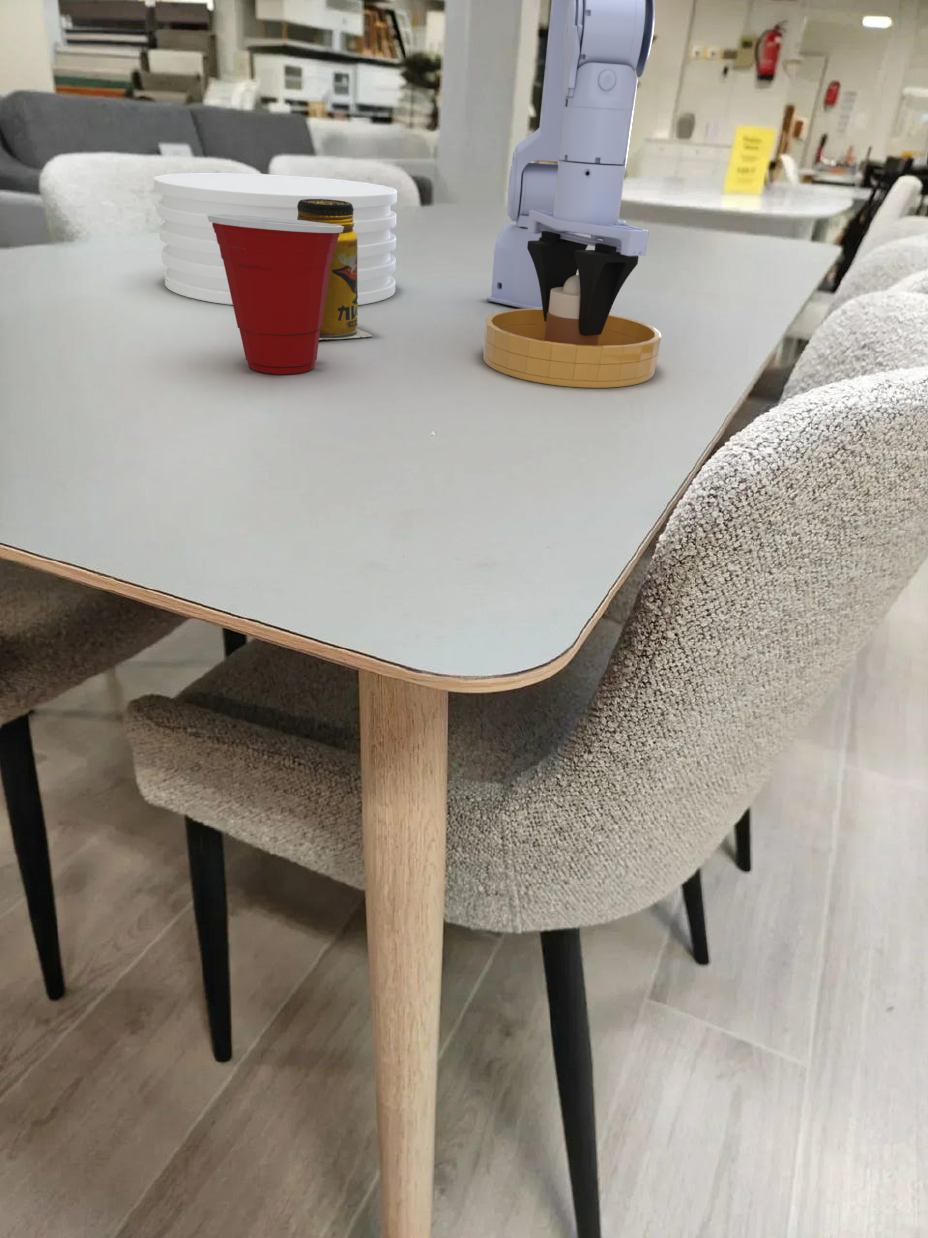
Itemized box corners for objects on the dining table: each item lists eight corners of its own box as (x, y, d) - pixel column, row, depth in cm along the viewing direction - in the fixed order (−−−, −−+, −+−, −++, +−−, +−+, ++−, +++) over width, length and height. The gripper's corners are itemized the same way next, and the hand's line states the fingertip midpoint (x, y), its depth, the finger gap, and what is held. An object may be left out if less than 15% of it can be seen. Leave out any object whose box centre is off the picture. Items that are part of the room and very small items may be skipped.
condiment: (373, 337, 86) (374, 205, 80) (294, 343, 82) (289, 204, 76) (340, 322, 91) (339, 197, 85) (265, 327, 87) (258, 196, 81)
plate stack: (384, 315, 95) (385, 201, 90) (131, 298, 95) (116, 183, 89) (403, 274, 120) (405, 183, 114) (201, 261, 119) (193, 168, 113)
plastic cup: (365, 360, 78) (366, 215, 72) (309, 389, 69) (304, 226, 63) (260, 344, 81) (252, 203, 75) (192, 370, 72) (177, 212, 66)
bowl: (447, 358, 80) (449, 319, 79) (549, 336, 91) (553, 302, 90) (591, 398, 72) (597, 356, 70) (685, 369, 82) (692, 331, 81)
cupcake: (532, 349, 82) (540, 271, 78) (574, 345, 84) (583, 269, 80) (564, 362, 78) (573, 280, 75) (606, 358, 80) (618, 278, 77)
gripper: (686, 171, 70) (657, 342, 76) (577, 158, 80) (560, 310, 87) (619, 168, 66) (595, 348, 73) (514, 155, 77) (502, 313, 84)
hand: (572, 327), depth 80 cm, fingers closed on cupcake, 5 cm apart
